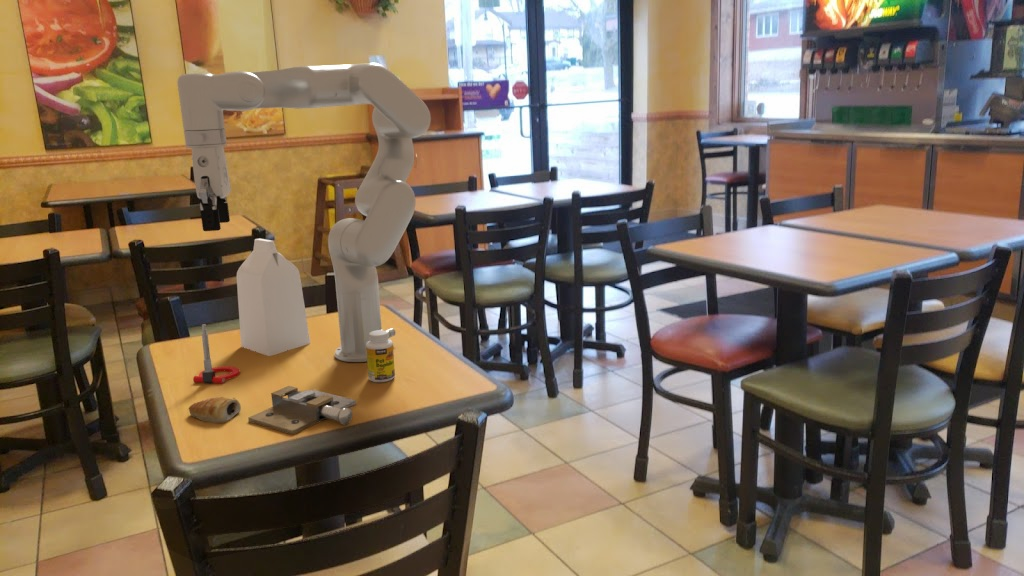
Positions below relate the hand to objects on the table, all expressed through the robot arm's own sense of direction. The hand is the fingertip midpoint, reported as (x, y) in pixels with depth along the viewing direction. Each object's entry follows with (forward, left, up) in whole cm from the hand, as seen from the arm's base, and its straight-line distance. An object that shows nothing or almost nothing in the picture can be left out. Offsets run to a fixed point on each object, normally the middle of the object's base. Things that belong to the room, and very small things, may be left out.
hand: (217, 226), depth 157 cm
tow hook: (-2, -9, -34) cm, 35 cm away
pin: (+3, +28, -34) cm, 44 cm away
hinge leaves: (+3, +23, -34) cm, 41 cm away
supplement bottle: (-18, +24, -34) cm, 46 cm away
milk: (-23, -15, -34) cm, 44 cm away
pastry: (+12, +9, -34) cm, 38 cm away
